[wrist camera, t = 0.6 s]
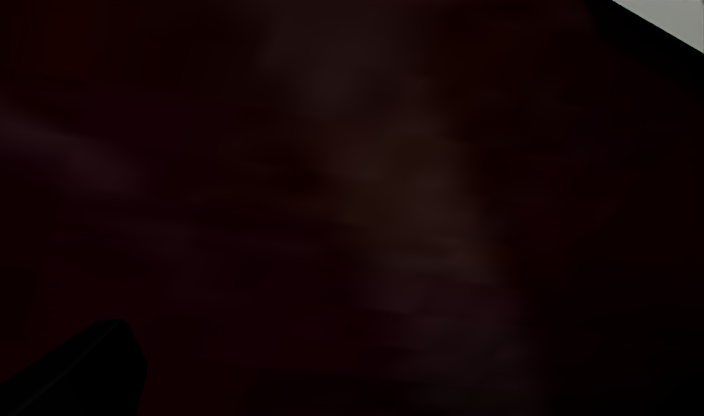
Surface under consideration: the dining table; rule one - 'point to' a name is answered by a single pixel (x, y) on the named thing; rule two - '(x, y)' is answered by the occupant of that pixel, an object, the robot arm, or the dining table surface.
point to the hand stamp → (673, 17)
